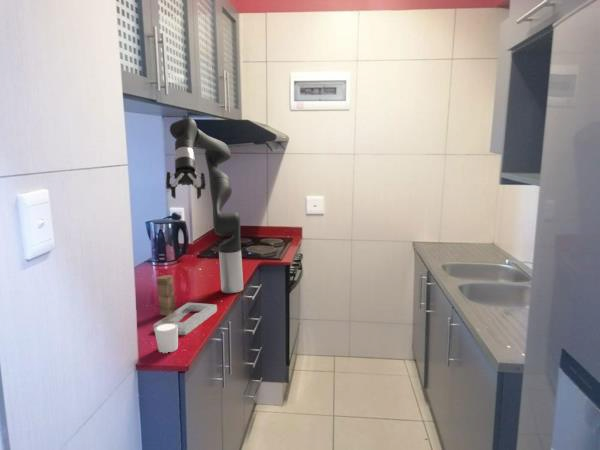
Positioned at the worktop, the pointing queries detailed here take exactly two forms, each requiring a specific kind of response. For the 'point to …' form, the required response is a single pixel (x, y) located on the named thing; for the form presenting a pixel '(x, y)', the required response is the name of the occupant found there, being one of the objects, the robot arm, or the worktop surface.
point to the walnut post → (166, 294)
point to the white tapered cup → (167, 337)
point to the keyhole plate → (194, 320)
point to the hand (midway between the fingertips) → (186, 197)
